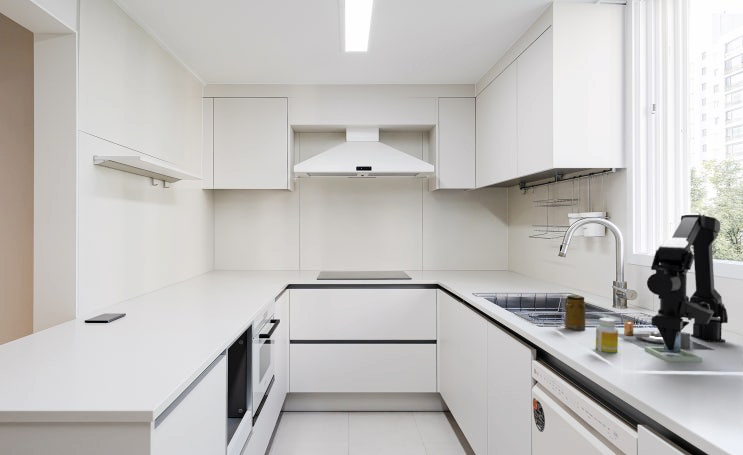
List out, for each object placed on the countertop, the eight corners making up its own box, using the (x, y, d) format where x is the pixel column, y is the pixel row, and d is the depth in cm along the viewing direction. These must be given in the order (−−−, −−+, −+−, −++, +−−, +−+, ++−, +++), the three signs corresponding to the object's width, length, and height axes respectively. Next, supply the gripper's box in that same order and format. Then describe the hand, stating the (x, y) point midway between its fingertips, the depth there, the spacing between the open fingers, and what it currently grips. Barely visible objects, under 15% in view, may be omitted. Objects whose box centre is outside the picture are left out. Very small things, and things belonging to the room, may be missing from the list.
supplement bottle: (591, 351, 118) (591, 317, 118) (605, 349, 119) (605, 316, 119) (607, 357, 113) (608, 322, 112) (622, 355, 114) (622, 320, 114)
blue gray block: (665, 348, 114) (665, 328, 114) (681, 351, 112) (681, 331, 112) (662, 351, 112) (663, 331, 112) (679, 354, 109) (679, 333, 109)
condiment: (570, 327, 145) (570, 293, 144) (595, 332, 138) (595, 297, 138) (560, 331, 140) (560, 296, 140) (585, 336, 133) (586, 299, 133)
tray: (676, 353, 116) (676, 347, 116) (701, 364, 107) (701, 357, 107) (644, 353, 116) (644, 346, 116) (666, 363, 107) (667, 357, 107)
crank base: (674, 337, 133) (674, 321, 133) (715, 352, 117) (715, 335, 117) (612, 336, 134) (613, 320, 134) (644, 351, 118) (644, 334, 118)
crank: (661, 333, 133) (662, 319, 133) (687, 343, 122) (687, 327, 122) (614, 333, 133) (614, 318, 133) (635, 343, 122) (636, 327, 122)
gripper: (705, 300, 99) (704, 364, 99) (716, 291, 112) (715, 348, 112) (651, 294, 107) (650, 353, 108) (666, 286, 120) (665, 339, 120)
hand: (672, 348), depth 112 cm, fingers closed on blue gray block, 4 cm apart
